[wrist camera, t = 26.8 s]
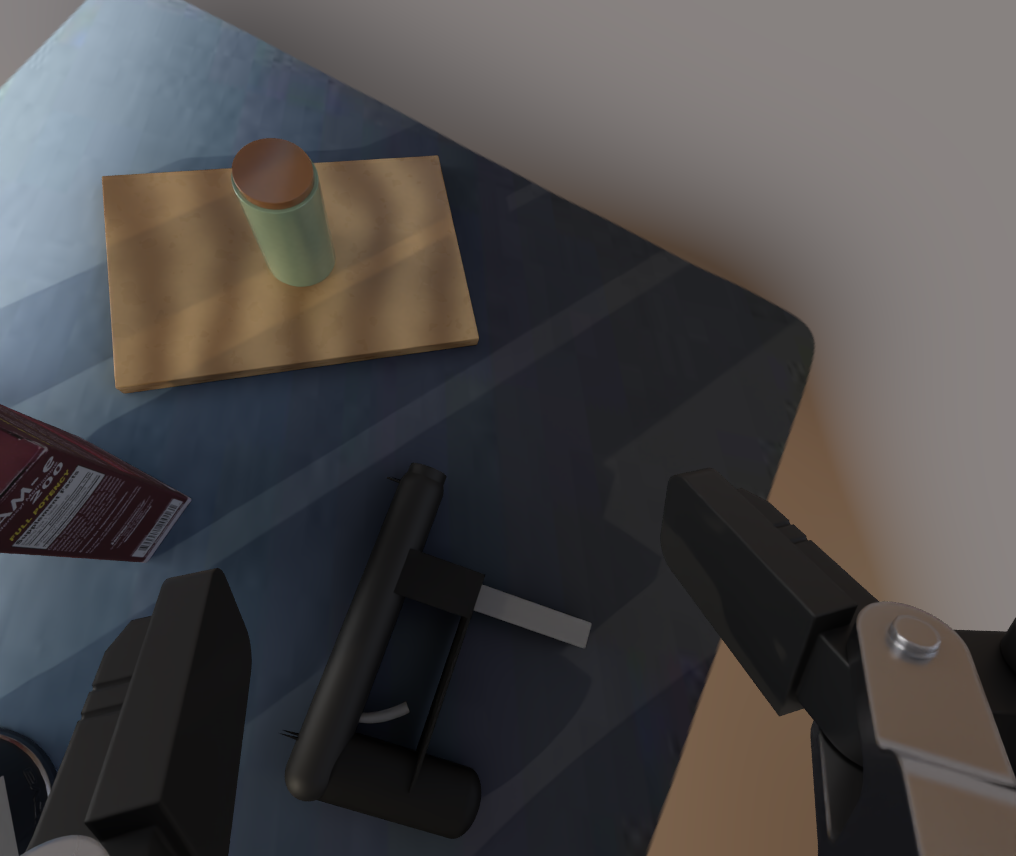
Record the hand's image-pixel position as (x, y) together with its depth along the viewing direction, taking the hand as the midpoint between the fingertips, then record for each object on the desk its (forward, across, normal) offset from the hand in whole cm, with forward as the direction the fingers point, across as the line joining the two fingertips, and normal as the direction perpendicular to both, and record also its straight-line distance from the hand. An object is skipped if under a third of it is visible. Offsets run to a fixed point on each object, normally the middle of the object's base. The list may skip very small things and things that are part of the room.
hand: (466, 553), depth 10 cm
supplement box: (+26, +18, +14) cm, 35 cm away
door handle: (+17, -1, +24) cm, 29 cm away
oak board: (+37, +5, +4) cm, 38 cm away
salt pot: (+36, +4, +3) cm, 37 cm away
